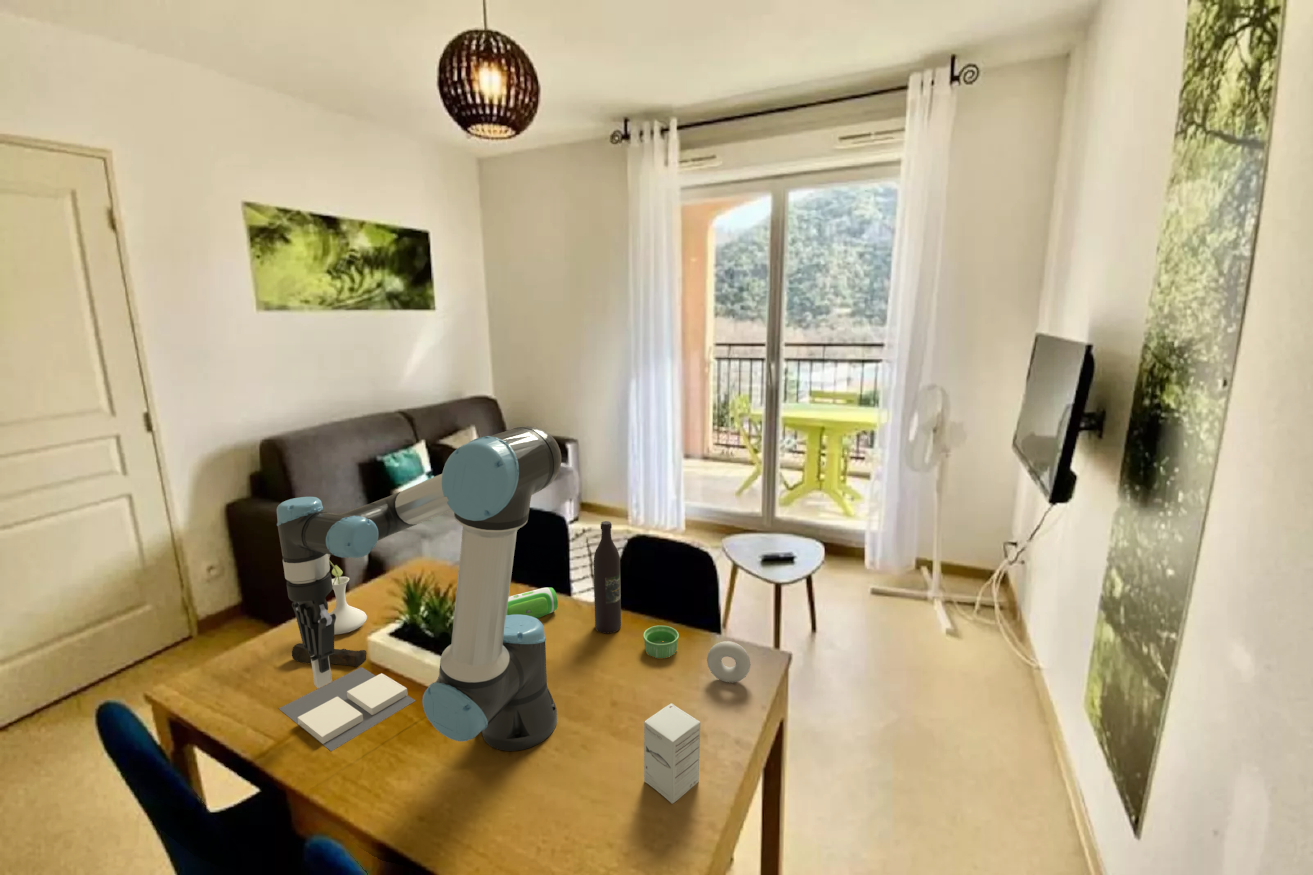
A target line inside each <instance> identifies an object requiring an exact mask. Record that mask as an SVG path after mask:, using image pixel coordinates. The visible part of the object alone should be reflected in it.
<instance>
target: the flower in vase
mask: <svg viewBox="0 0 1313 875" xmlns="http://www.w3.org/2000/svg"><path fill="white" fill-rule="evenodd" d="M329 565H331V566H332V570H331V575H333V576H334V578H332V586H333V588H332V590H333V592H334V595H335V600H336V601H335V603H336V605H335V608H334V609H333V610H332V611H330V612H328V613H329V615H331V614H335V615H336V620H335V624H334V636H335V635H342V634H343V635H344V634H348V633H350V632H352V631H355V630H357V629H359V628H360V627H362V626H363V625H364V624H365V623H366V621H367V619H368V615H367V614H366V612H365V611H363V610H362V609H359V608H357V607H354V606H351V605H349V604H348V602H347V599H346V587H347V584H348V582H349V581H350V577H348V576H343V570H342V569H341V567H339V566H338V564H335V565H334V563H332V561H331V560H330V559H329Z"/></svg>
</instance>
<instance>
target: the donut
mask: <svg viewBox="0 0 1313 875" xmlns="http://www.w3.org/2000/svg"><path fill="white" fill-rule="evenodd" d="M726 657H728V658H732V659H733V660H734V662H735V665H733V666H727V665H725V664H724V663H723V660H722V659H723V658H726ZM706 661H707V667H708V670H709V671H710V673H711V674H712V675H713V676H714V677H715V678H716V679H718V680H720V681H722V682H724V683H728V682H729V683H730V682H732V683H737V682H740V681H742V680H744V679H745V678H746V677H747V675H748V674H749V673H750V669H751V664H752V663H751V658H750V655H749V654H748V652H747V650H746V649H745V648H744V647H743V646H742V645H740V644H738V643H737V642H734V641H731V640H726V641H720V642H717V643H715V644H714V645H713V646H711V648H710V649H709V651H708V652H707V658H706Z"/></svg>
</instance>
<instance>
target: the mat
mask: <svg viewBox="0 0 1313 875" xmlns="http://www.w3.org/2000/svg"><path fill="white" fill-rule="evenodd" d="M375 676H376V675H375V674H374V673H372V672H371V671H369V670H367V669H366V668H364V667H362V666H359V667H358V668H355V669H354V670H353V671H351V672H348V673H347V674H344V675H343V676H340V677H338V678H337V679H335V680H332V682H330V683H328V684H326V685H324V686H322V687H320V688H317V689H315V690H313V691H311V692H309V693H307V694H305V695H302V696H301V697H298V698H296V699H294V700H293V701H291V702H289V703H287V704H285V705H283V706H281V707H279V708H278V709H279V711H281V712H282V713H283V714H284V715H285V716H287V717H288V718H289V719H291V721H293V722H294V723H295V724H297V725H298V726H299V727H300V728H301V729H303V730H304V731H305V732H307V733H308V734H309V735H311V734H310V733H309V732H308V731H306V730H305V729H304V728H303V727H301V726H300V725H299V724H298V717H299V716H301V715H303V714H305V713H307V712H309V711H310V710H312V709H314V708H316V707H318V706H320V705H322V704H324V703H326V702H328V701H330V700H331V699H333V698H335V697H337V696H338V697H339V698H340V699H342V700H343V701H345V702H346V703H348V704H349V705H350V706H352V707H353V708H355V709H356V710H358V711H359V712H360V713H362V714H363V721H362V722H360V723H358V724H357V725H355V726H353V727H352V728H350V729H348V730H346V731H345V732H343V733H341V734H340V735H338V736H336V737H334V738H333V739H331V740H329V741H328V742H326V743H324V744H322V743H321V742H320V741H319V740H317V739H316V738H315V737H314V736H312V735H311V737H312V738H314V739H315V740H317V741H318V742H319V743H320V744H322V746H324V747H325V748H326V749H328V750H329V752H333V751H334V750H336V749H337V748H339V747H341V746H343V745H344V744H346V743H348V742H349V741H351V740H352V739H355V738H356V737H358V736H360V735H361V734H362V733H364V732H366V731H368V730H370V729H371V728H372V727H375V726H376V725H378V724H379V723H381V722H383V721H384V720H386V719H388V718H389V717H392V716H393V715H394V714H396V713H398V712H399V711H401V710H403V709H404V708H406V707H407V706H410V705H411V704H413V703H414V702H416V701H417V700H416V699H415V698H412V697H411V696H410V695H407V696H405V697H403V698H402V699H400V700H398V701H396V702H395V703H393V704H391V705H390V706H388V707H386V708H384V709H383V710H381V711H379V712H377V713H376V714H374V715H371V714H370V713H369V712H367V711H366V710H364V709H363V708H361V707H360V706H358V705H357V704H356V703H354V702H353V701H351V700H350V699H348V698H347V691H349V690H350V689H352V688H354V687H356V686H358V685H360V684H362V683H364V682H366V681H368V680H370V679H371V678H373V677H375Z"/></svg>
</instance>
